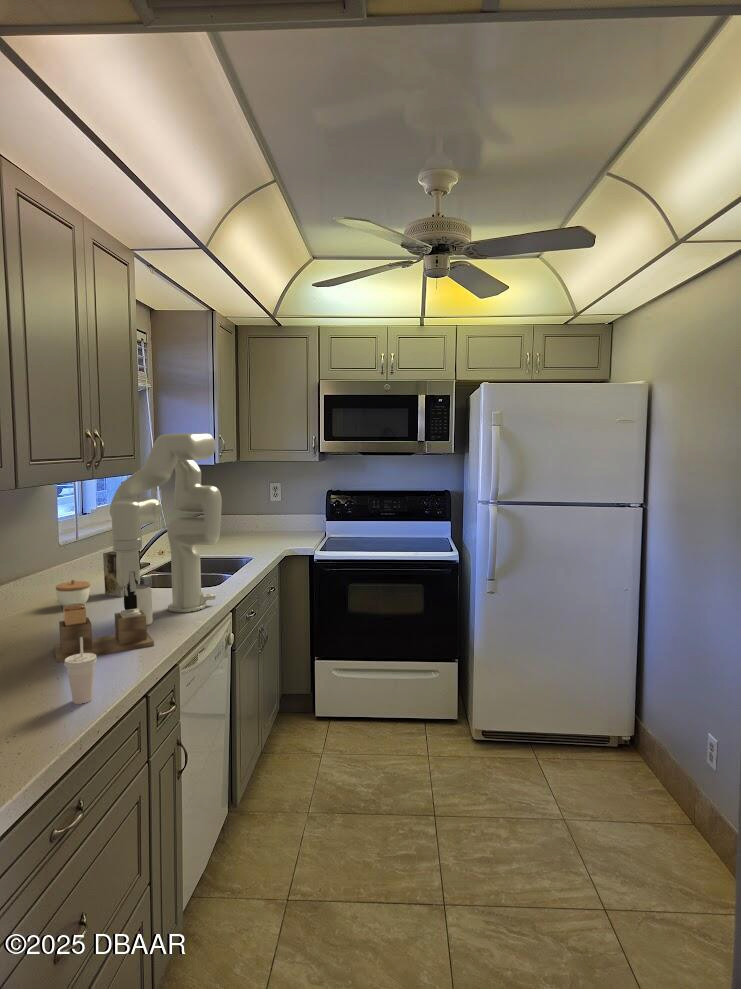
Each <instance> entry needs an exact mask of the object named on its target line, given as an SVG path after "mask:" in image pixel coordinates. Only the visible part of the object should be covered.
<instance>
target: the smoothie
mask: <svg viewBox="0 0 741 989" xmlns="http://www.w3.org/2000/svg"><path fill="white" fill-rule="evenodd" d="M97 661H98V658H97V656H96V655H95V654H93V653H83V637H80V654H75V655H72V656H69V657H67V658H66V659H65V661H64V667H66V673H67V677H68V682H69V687H70V694H71V697H72V704H75V705H83V704H82V703H85V704H87V703H86V702H88V703H90V702H91V701H92V700H93V694H94V692H93V691H94V680H95V679H94V678H95V670H96V669H95V668H96V662H97ZM91 699H92V700H91ZM90 700H91V701H90ZM89 701H90V702H89Z"/></svg>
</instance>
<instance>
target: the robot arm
mask: <svg viewBox="0 0 741 989" xmlns="http://www.w3.org/2000/svg"><path fill="white" fill-rule="evenodd" d="M216 448H217V445H216V439H215V438H214V437H213V436H212V434H210V433H207V432H206V433H205V432H204V433H202V432H201V433H200V432H198V433H197V432H193V433H190V432H189V433H188V432H187V433H186V432H181V433H164V434H161V435H159V436H158V437H157V438H156V440H155V441H154V443H153V445H152V446H151V449H150V451H149V454H148V456H147V458H146V460H145V463H144V465H143V467H142V468H140V469H139V470H137V471H135V472H134V473H133V474H131V475H130V476H129V477H127V478H125V480H123V481H122V482H121V483H120V484H119V486H118V487H117V489H116V491H115V493H114V495H113V497H112V500H111V501H110V502H111V503H110V506H109V515H110V517H111V530H112V531H111V532H112V548H113V549H112V551H114V552H117V555H116V571H117V582H118V584H119V585H120V586H121V587H122V588H124V596H123V609H124V610H130V609H136V608H137V595H136V585H137V586H138V585H141V572H140V571H141V568H140V556H139V551H141V550H143V539H142V538H143V537H142V524H153V523H156V522H157V521H158V520H160V518H161V516H162V514H163V506H162V504H161V503H160V501H159V500H158V499H156V498H152V497H138V496H139V495H140V494H142V493H145V492H146V491H149V490H151V489H156V488H158V487H160V486H163V485H164V484H166V483H168V482H169V481H170V479H171V477H172V474H173V471H174V470H175V479H174V480H175V481H174V482H175V483H174V484H175V485H174V495H173V496H174V499H173V503H174V504H173V505H174V508H175V510H176V511H177V512H179V513H186V514H204V515H203V516H177V517H174V518H172V519H171V520H170V521H169V522H168V524H167V527H166V534H167V538H168V543H169V547H170V560H171V561H170V562H171V568H170V569H171V590H172V591H171V592H172V594H171V595H172V597H171V598H172V602H171V603H170V604H168V605H167V610H168V611H170V612H173V613H190V612H191V611H193V612H197V610H198V611H200V609H201V610H203V609H205V608H206V607H207V601H212V600H216V594H215V593H213V594H212V593H211V594H210V593H205V594H204V593H203V592H202V578H201V576H202V575H201V574H202V573H201V568H202V567H201V556H200V553H199V551H198V550H197V548H196V547H195V546H212V545H215V544H217V542H218V541H219V540H220V536H221V524H222V507H223V504H222V503H223V500H222V499H223V498H222V495H221V491H220V489H219V488H218V487H216V486H214V485H202V470H201V468H200V466H199V465H198V463H197V462H196V461H200V460H206V459H210V458H212V457H213V456H214V454H215V453H216ZM191 613H192V612H191Z"/></svg>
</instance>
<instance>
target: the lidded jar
mask: <svg viewBox="0 0 741 989" xmlns="http://www.w3.org/2000/svg"><path fill="white" fill-rule="evenodd" d="M90 591H91V583H90V581H85V580H77V581H75V579H71V580H70V581H68V582H61V583H59V584H57V585H55V592H56V598H57V601H58V602H59V604H60V605H61V606H62V607H64V606H66V605H69V604H75V603H82V604H86V603H87V601H88V600H89V598H90V595H91V594H90V593H91V592H90Z"/></svg>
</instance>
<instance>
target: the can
mask: <svg viewBox="0 0 741 989" xmlns="http://www.w3.org/2000/svg"><path fill="white" fill-rule="evenodd" d="M136 595H137V608H136V609H139V610H142V611H143V612H144V614H145V615H146V627H148V626H150V625H152V623H153V621H154V620H153V598H152V596H153V594H152V589H151V586H150V584H139V585H138V586H137V585H136ZM147 625H148V626H147Z"/></svg>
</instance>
